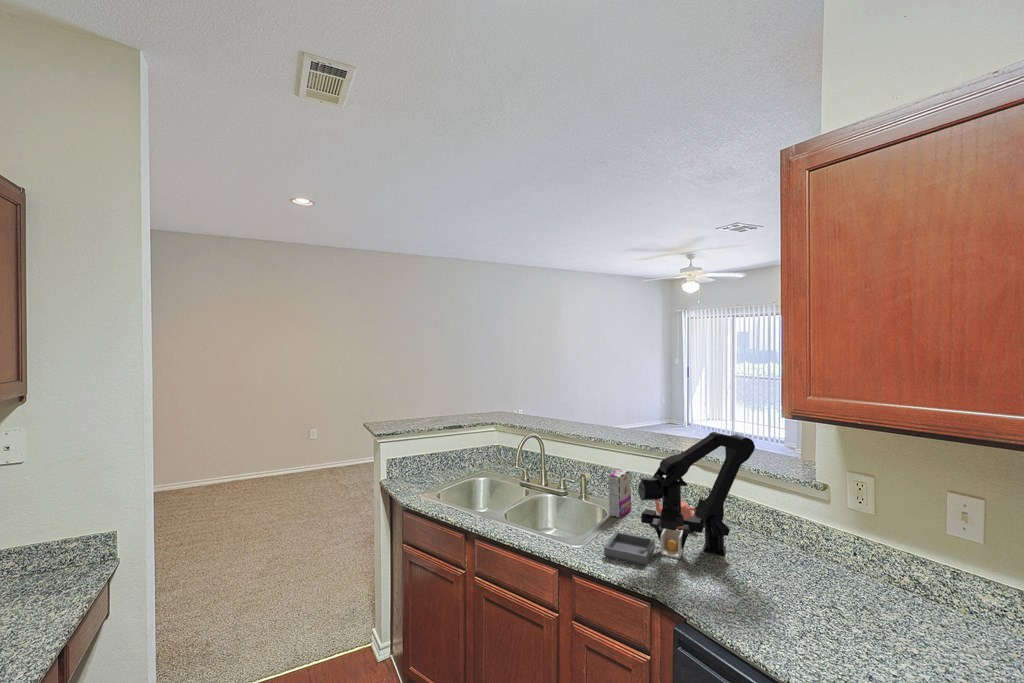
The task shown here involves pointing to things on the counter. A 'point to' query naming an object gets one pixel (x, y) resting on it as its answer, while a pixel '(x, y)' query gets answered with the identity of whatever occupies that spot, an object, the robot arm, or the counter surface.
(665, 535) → the white open holder
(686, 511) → the teapot
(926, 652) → the counter surface
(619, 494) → the candy bar box
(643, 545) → the tray
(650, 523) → the robot arm
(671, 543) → the ball
